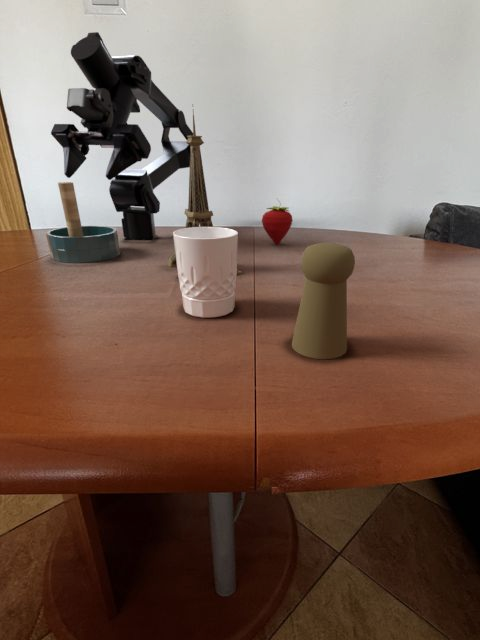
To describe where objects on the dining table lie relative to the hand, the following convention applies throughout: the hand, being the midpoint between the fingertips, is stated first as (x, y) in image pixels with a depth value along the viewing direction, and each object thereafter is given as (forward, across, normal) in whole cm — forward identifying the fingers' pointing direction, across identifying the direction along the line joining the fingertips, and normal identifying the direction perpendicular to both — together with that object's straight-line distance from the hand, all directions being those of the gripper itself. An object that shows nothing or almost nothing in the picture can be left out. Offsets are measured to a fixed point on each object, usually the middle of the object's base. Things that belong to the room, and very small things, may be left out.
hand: (87, 177), depth 71 cm
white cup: (+25, +34, -6) cm, 42 cm away
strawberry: (-5, +31, +26) cm, 41 cm away
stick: (+14, +1, +5) cm, 15 cm away
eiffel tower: (+13, +25, +7) cm, 29 cm away
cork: (+29, +50, -10) cm, 58 cm away
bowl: (+13, 0, +6) cm, 15 cm away
